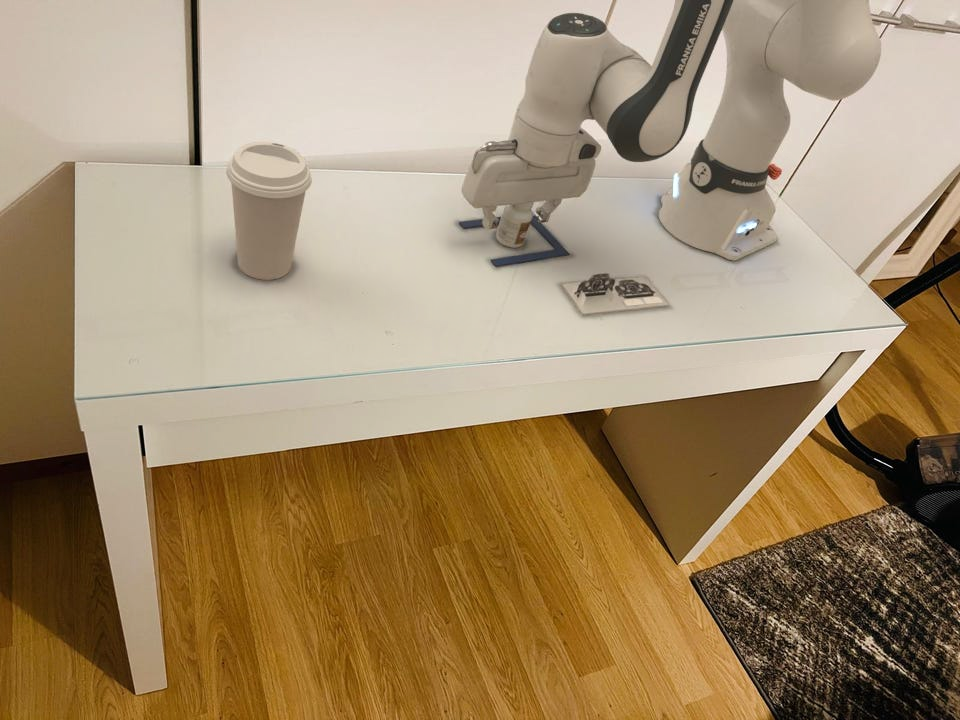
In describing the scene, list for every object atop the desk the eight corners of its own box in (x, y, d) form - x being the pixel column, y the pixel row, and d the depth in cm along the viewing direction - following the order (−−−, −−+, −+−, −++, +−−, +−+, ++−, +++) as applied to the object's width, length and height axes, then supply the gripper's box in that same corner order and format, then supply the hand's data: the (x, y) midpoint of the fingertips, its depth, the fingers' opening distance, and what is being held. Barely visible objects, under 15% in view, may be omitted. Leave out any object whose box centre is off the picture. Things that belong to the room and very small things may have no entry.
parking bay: (530, 214, 121) (531, 212, 121) (569, 255, 115) (570, 253, 115) (458, 223, 114) (459, 221, 114) (495, 267, 108) (496, 265, 108)
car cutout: (582, 316, 105) (593, 291, 102) (560, 286, 109) (570, 260, 106) (667, 307, 111) (679, 283, 108) (643, 278, 115) (655, 255, 112)
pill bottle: (521, 252, 113) (535, 207, 107) (493, 243, 112) (506, 198, 107) (525, 237, 116) (539, 193, 111) (498, 228, 116) (511, 184, 111)
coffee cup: (317, 262, 99) (329, 160, 89) (273, 298, 92) (280, 191, 82) (256, 233, 101) (261, 129, 91) (208, 265, 94) (208, 157, 84)
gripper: (490, 155, 96) (466, 244, 105) (611, 147, 107) (579, 228, 116) (466, 130, 100) (444, 218, 109) (585, 124, 110) (556, 205, 119)
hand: (515, 223), depth 112 cm, fingers open, 8 cm apart
